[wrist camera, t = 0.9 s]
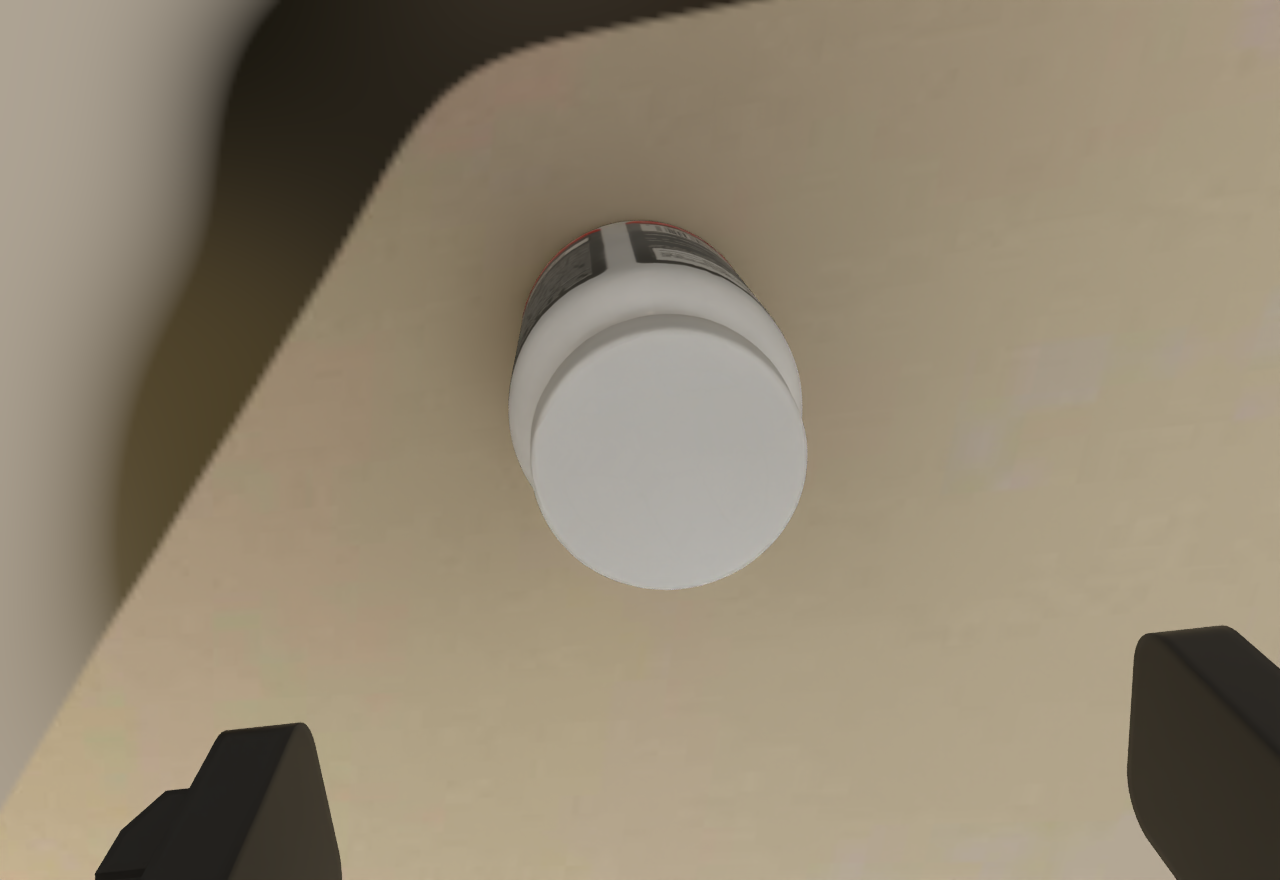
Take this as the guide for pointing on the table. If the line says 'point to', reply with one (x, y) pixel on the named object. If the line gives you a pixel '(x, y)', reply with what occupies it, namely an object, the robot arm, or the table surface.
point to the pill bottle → (656, 408)
